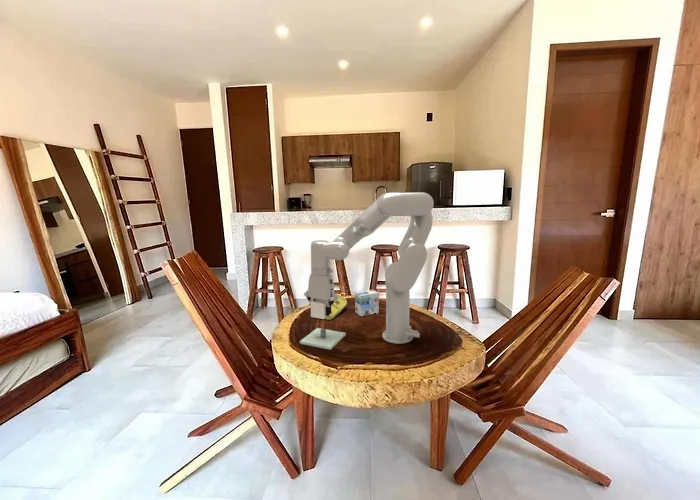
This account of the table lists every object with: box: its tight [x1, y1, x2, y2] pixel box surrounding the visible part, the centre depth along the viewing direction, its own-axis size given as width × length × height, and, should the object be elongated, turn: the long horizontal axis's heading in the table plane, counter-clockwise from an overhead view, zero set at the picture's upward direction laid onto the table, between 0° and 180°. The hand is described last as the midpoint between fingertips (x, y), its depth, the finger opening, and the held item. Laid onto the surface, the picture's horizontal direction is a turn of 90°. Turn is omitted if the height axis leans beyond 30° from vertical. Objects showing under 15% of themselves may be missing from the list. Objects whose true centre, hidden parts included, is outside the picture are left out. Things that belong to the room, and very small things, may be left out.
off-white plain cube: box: [310, 299, 328, 320], centre depth 125 cm, size 6×6×6 cm
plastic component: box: [324, 293, 348, 321], centre depth 157 cm, size 20×7×10 cm
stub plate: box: [299, 327, 347, 350], centre depth 126 cm, size 14×14×4 cm
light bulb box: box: [354, 289, 380, 317], centre depth 155 cm, size 11×7×11 cm, turn 113°
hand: (321, 313), depth 125 cm, fingers closed on off-white plain cube, 6 cm apart
